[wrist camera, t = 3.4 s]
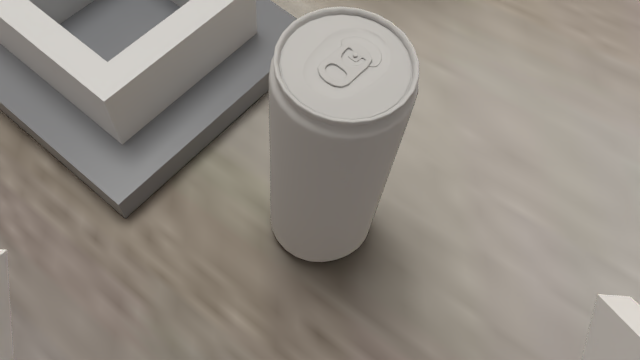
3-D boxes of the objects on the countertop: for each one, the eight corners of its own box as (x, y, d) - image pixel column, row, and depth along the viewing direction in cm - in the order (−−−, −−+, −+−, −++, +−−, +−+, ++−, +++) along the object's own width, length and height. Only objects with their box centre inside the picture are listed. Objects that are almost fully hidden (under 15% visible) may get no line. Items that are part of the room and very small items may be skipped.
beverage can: (388, 219, 29) (455, 61, 19) (323, 288, 27) (355, 156, 17) (316, 159, 31) (339, -20, 20) (248, 221, 29) (235, 60, 18)
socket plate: (313, 49, 34) (320, -18, 30) (125, 218, 28) (98, 166, 24) (142, -69, 37) (125, -145, 33) (-56, 60, 32) (-109, -11, 27)
